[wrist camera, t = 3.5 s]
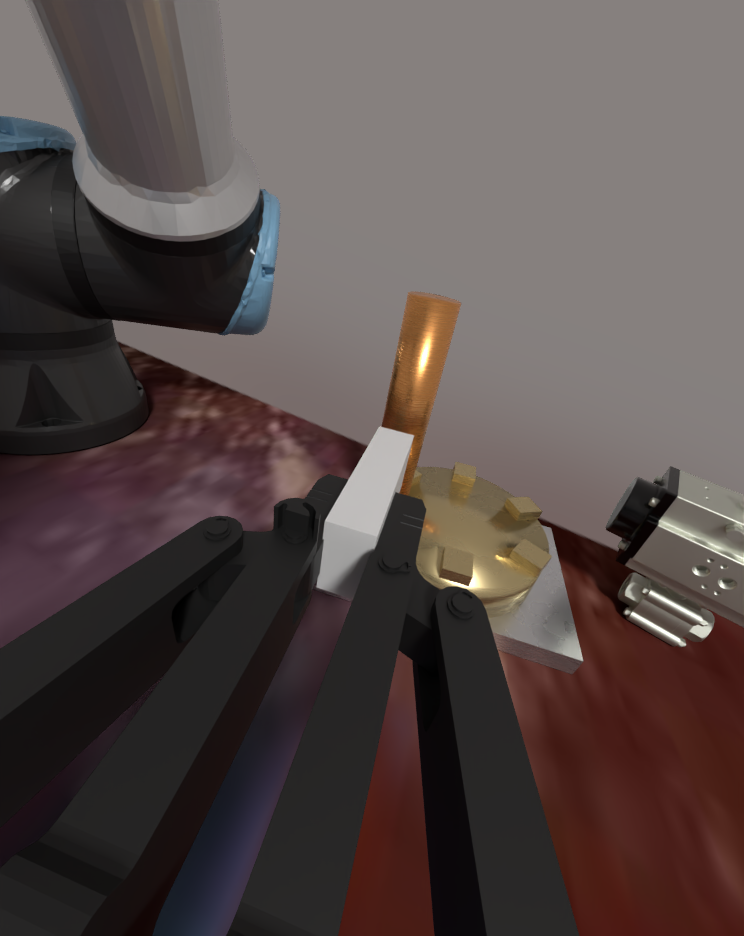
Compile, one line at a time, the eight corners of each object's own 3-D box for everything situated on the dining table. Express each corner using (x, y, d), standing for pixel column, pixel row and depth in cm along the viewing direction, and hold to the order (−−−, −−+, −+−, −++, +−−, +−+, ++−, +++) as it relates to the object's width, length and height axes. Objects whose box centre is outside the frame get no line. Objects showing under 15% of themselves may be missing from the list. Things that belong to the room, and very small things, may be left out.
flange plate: (307, 587, 26) (308, 572, 25) (358, 486, 37) (360, 474, 36) (572, 674, 24) (583, 661, 23) (544, 539, 35) (551, 528, 34)
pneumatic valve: (578, 561, 33) (656, 443, 27) (740, 649, 28) (886, 529, 21) (562, 598, 29) (649, 470, 23) (747, 709, 24) (930, 584, 17)
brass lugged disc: (336, 579, 25) (383, 308, 16) (381, 478, 36) (423, 282, 27) (543, 646, 23) (729, 386, 14) (524, 518, 34) (621, 324, 25)
